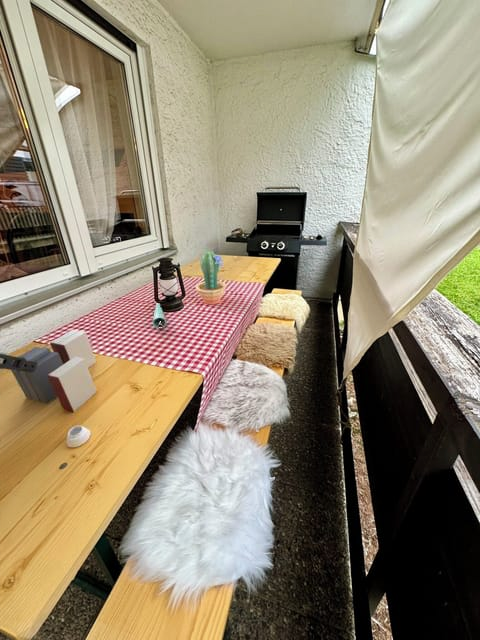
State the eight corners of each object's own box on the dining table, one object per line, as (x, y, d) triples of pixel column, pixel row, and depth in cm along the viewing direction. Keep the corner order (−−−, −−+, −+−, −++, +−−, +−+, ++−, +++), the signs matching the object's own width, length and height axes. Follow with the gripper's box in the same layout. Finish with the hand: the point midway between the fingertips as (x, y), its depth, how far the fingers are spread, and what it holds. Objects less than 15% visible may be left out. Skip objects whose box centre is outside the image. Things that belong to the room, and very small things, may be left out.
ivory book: (63, 409, 70) (47, 375, 64) (88, 389, 77) (75, 356, 71) (73, 412, 69) (57, 378, 63) (97, 391, 76) (84, 358, 70)
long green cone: (161, 293, 128) (165, 316, 106) (163, 303, 131) (167, 328, 108) (150, 294, 127) (151, 318, 104) (152, 304, 129) (153, 330, 107)
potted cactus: (209, 310, 123) (204, 257, 111) (191, 300, 133) (185, 252, 121) (233, 300, 132) (231, 251, 120) (214, 292, 142) (211, 246, 130)
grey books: (26, 397, 74) (6, 361, 68) (51, 379, 81) (35, 345, 75) (47, 404, 72) (28, 367, 66) (72, 385, 78) (57, 349, 72)
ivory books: (63, 373, 83) (49, 342, 78) (84, 359, 90) (72, 329, 84) (76, 377, 82) (63, 345, 76) (96, 361, 89) (86, 331, 83)
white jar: (77, 428, 64) (62, 446, 60) (73, 420, 63) (57, 438, 59) (95, 431, 63) (81, 450, 59) (92, 423, 62) (77, 441, 58)
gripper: (-36, 329, 41) (51, 351, 56) (-98, 325, 44) (1, 346, 59) (-58, 377, 39) (39, 386, 54) (-122, 368, 42) (-13, 380, 57)
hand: (19, 365), depth 57 cm, fingers open, 8 cm apart
